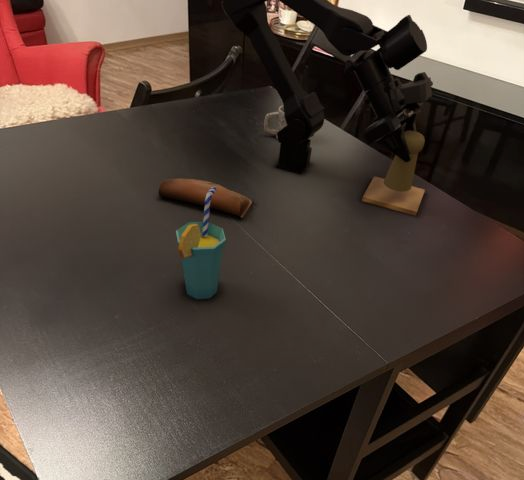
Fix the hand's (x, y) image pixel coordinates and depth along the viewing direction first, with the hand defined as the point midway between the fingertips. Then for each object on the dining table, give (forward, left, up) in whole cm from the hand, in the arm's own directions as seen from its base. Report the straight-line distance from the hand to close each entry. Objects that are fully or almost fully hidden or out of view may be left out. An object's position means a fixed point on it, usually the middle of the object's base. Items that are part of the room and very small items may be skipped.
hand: (412, 157), depth 98 cm
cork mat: (-1, +2, -10) cm, 11 cm away
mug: (-34, +18, -11) cm, 40 cm away
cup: (-24, -46, -11) cm, 53 cm away
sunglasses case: (-36, -21, -11) cm, 43 cm away
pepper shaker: (-1, 0, -7) cm, 7 cm away
